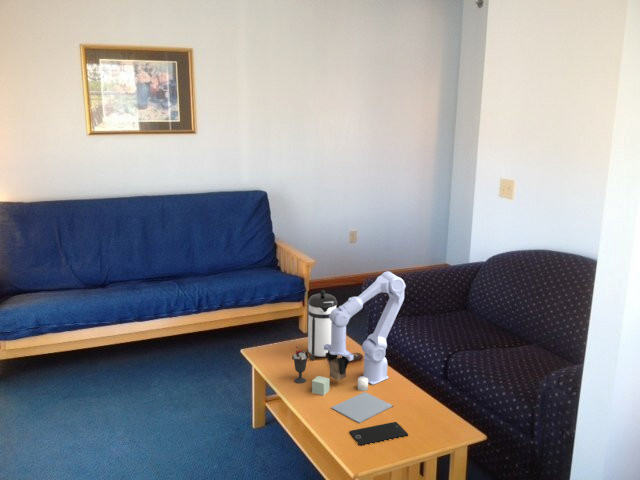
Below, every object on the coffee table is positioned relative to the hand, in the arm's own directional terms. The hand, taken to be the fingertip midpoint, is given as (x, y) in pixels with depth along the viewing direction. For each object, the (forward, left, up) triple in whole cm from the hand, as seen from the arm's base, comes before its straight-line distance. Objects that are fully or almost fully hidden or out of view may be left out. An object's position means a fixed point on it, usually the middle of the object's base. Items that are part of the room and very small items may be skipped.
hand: (338, 371), depth 231 cm
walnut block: (0, 0, -2) cm, 2 cm away
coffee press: (-15, -26, -6) cm, 31 cm away
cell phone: (+15, +35, -6) cm, 39 cm away
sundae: (+9, -12, -6) cm, 16 cm away
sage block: (+9, 0, -6) cm, 11 cm away
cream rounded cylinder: (-5, +9, -5) cm, 12 cm away
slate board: (+6, +19, -5) cm, 21 cm away
